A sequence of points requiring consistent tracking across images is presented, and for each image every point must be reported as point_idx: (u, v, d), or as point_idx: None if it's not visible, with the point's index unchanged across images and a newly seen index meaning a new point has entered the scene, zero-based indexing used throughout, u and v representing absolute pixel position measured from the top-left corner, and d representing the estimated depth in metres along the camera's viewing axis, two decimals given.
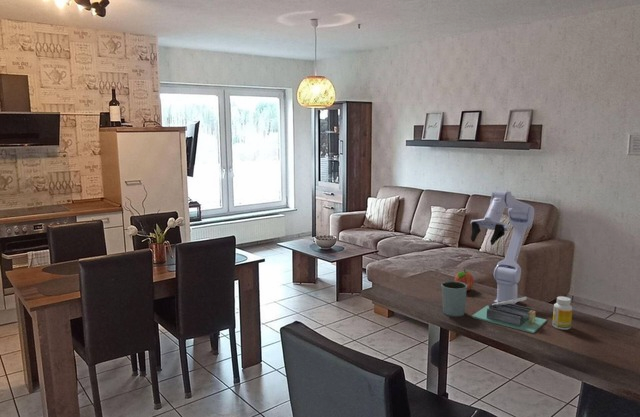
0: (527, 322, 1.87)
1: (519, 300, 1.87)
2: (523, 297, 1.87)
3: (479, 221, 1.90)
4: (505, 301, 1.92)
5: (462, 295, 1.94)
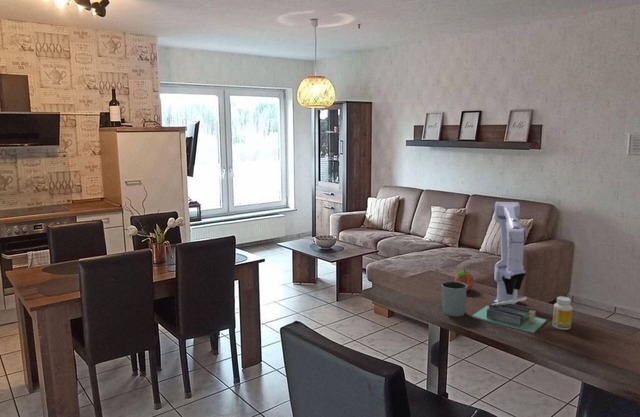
0: (527, 322, 1.87)
1: (519, 300, 1.87)
2: (523, 297, 1.87)
3: (514, 274, 1.88)
4: (505, 301, 1.92)
5: (462, 295, 1.94)
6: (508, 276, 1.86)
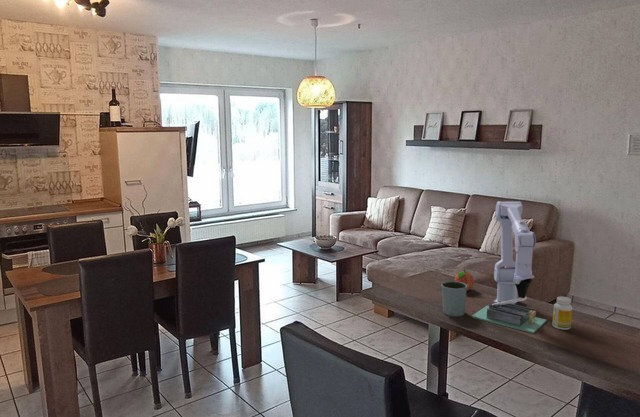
0: (527, 322, 1.87)
1: (519, 300, 1.87)
2: None
3: None
4: (505, 301, 1.92)
5: (462, 295, 1.94)
6: (517, 281, 1.80)
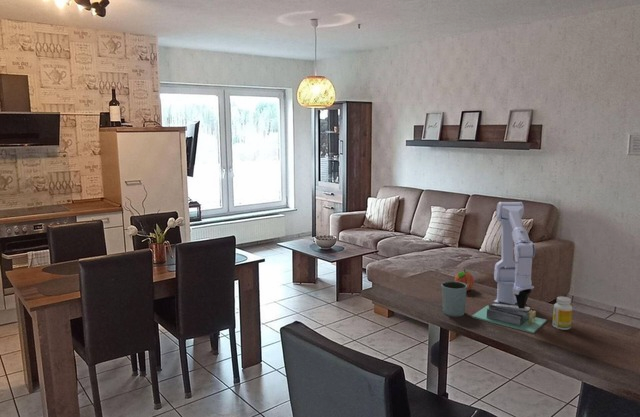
0: (527, 322, 1.87)
1: (521, 309, 1.87)
2: (526, 307, 1.87)
3: None
4: (507, 305, 1.92)
5: (462, 295, 1.94)
6: (516, 292, 1.81)
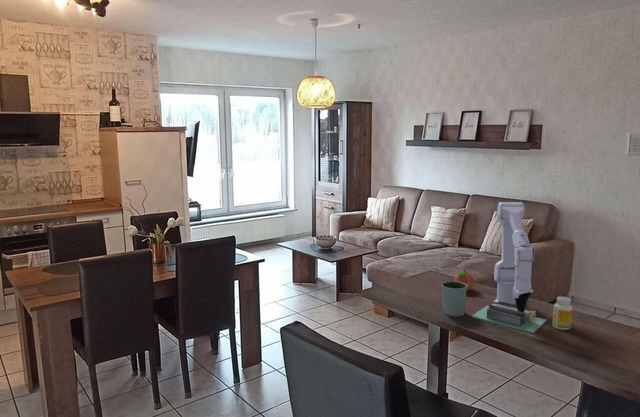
0: (527, 322, 1.87)
1: (522, 313, 1.87)
2: (526, 311, 1.87)
3: None
4: (507, 307, 1.92)
5: (462, 295, 1.94)
6: (516, 295, 1.81)
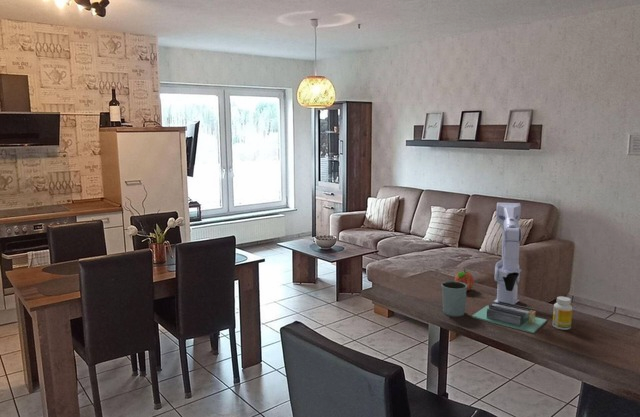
0: (527, 322, 1.87)
1: (522, 313, 1.87)
2: (526, 311, 1.87)
3: (510, 272, 1.90)
4: (507, 307, 1.92)
5: (462, 295, 1.94)
6: (504, 274, 1.88)
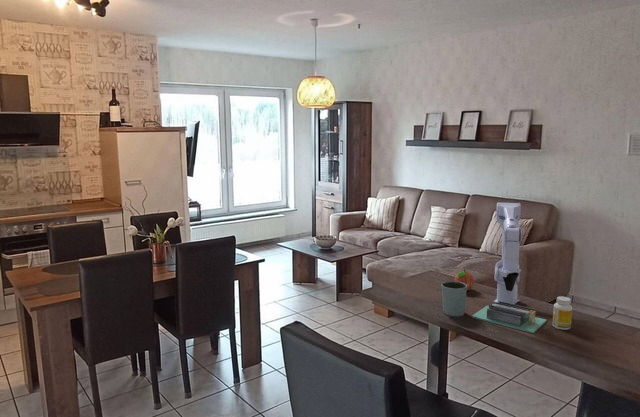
0: (527, 322, 1.87)
1: (522, 313, 1.87)
2: (526, 311, 1.87)
3: (510, 272, 1.90)
4: (507, 307, 1.92)
5: (462, 295, 1.94)
6: (504, 274, 1.88)
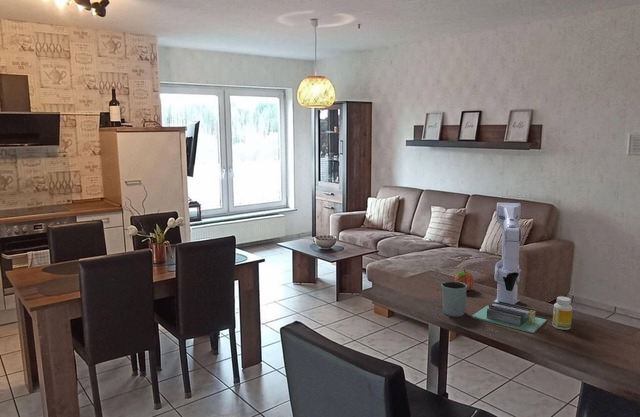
0: (527, 322, 1.87)
1: (522, 313, 1.87)
2: (526, 311, 1.87)
3: (510, 272, 1.90)
4: (507, 307, 1.92)
5: (462, 295, 1.94)
6: (504, 274, 1.88)
